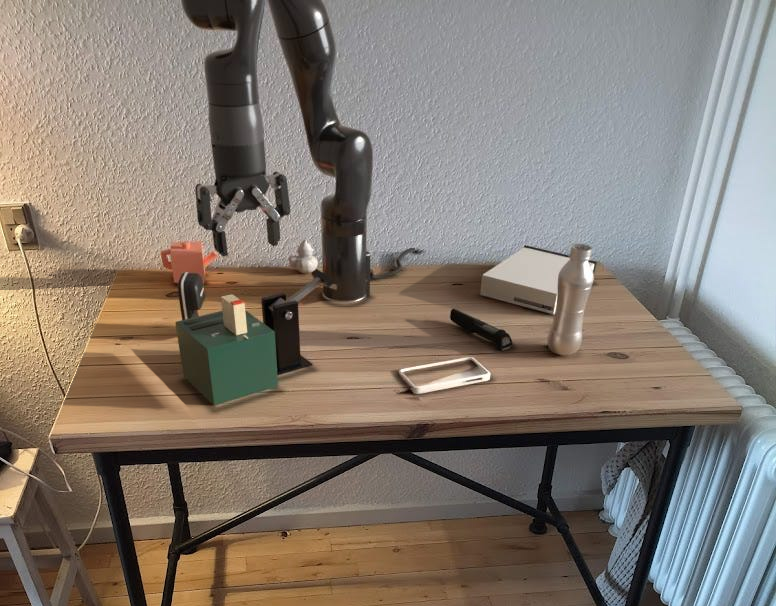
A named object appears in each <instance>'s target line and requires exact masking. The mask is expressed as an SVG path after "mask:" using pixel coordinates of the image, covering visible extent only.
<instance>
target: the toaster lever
mask: <svg viewBox="0 0 776 606" xmlns="http://www.w3.org/2000/svg"><path fill="white" fill-rule="evenodd" d="M310 274H311V276H312V278H313V279H312V280H310V282H307V284H306V285H304V286H303V287H301V288H300V289H299V290H298V291H296V292H295V293H294V294H292V295H291V296H289V297H288V298H286V301H285V300H283V299H282V298H279V299H278V300H277V301H275V302H274V303H273V304H271V305H270V306H269V307H268V308H269V310H270V312H271V314H272V316H273V306H274V305H278V304H282V303H286V302H290V301H294V300H295V301H297V302H298V303H299V302H300V301H301V300H302V299H303V298H305V297H306V296H308V295H309V294H310V293H312V292H313V291H314V290H316V289H317V288H319V286H321V285H323V284H324V285H326V286H327V287H330V286H331V285H332V284H334V282H333V280H332V278H331V277H329V276H328V275H326V274H324V273H322V270H319V269H317V268H316V269H315V270H314V271H313V272H311V273H310Z"/></svg>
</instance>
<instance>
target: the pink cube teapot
mask: <svg viewBox="0 0 776 606" xmlns="http://www.w3.org/2000/svg"><path fill="white" fill-rule="evenodd" d="M168 256H169V257H170V261H169V260H168ZM160 257H161V263H162V267H163V268H165V269H168V270H171V271H172V275H173V283H177V285H178V281H179V279H180V277H181V275H182V274H183V273H186V272H188V273H198V274H200V275H201V277H202V279H203V284H204V282H206V279H207V278H206V267H207V266H208V265H210V264H211V263H212V262H213V261H215V260H216V259H218V258H219V254H218V252H217V251H216V250H215V251H214V250H213V251H212V252H210V253H209V254H208V255H206V257H204V247H203V242H202V241H201V240H199V241H198V240H197V241H196V240H195V241H189V240H188V241H185V240H184V241H174V242H173V241H172V242H170V248H167V249H164V250H161V251H160Z"/></svg>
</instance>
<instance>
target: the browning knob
mask: <svg viewBox="0 0 776 606" xmlns="http://www.w3.org/2000/svg"><path fill="white" fill-rule="evenodd" d="M220 300H221V308H222V309H221V311H223V319H224V326H225V327H226V328H228V329H229V330H230V331H231V332H233V333H234V334H235V335H240V334H244V333H247V325H246V314H245V310H246V304H245V302H244V301H243V300H242V299H239V298H238V297H236V295H234V294H227V295H222V296H220Z"/></svg>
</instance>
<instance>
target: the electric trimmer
mask: <svg viewBox="0 0 776 606" xmlns="http://www.w3.org/2000/svg"><path fill="white" fill-rule="evenodd" d="M449 319H450V321H451V322H453V323H454V324H455V325H457V326H458V327H460V328H461V329H462V330H464V331H465V332H467V333H468V334H474V335H475V334H476V335H477V336H479V337H481V338H483V339H485V340H486V341H488V342H490V343H492V344H494V345H495V347H496V349H497V350H502V351H505V350H508V349H510V348H511V347H512V346H513V340H512V337H511V335H510V334H509V332H506V331H505V330H504V329H502V328H498V327H495V326H493V325H491V324H489V323H487V322H485V321H483V320H481V319H478V318H476V317H474V316H471V315H469V314H467V313H465V312H463V311H461V310H459V309H457V308H452V309H451V310H450V313H449Z"/></svg>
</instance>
